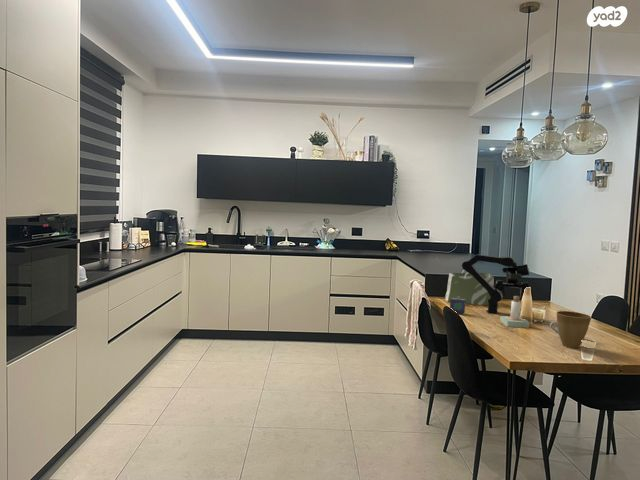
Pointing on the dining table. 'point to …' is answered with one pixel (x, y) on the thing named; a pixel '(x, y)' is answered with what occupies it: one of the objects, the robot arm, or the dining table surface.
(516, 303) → the cosmetic bottle
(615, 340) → the dining table surface
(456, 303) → the flask
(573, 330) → the plant pot
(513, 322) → the stacking base
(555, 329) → the teacup
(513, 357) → the dining table surface
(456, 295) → the grocery bag
